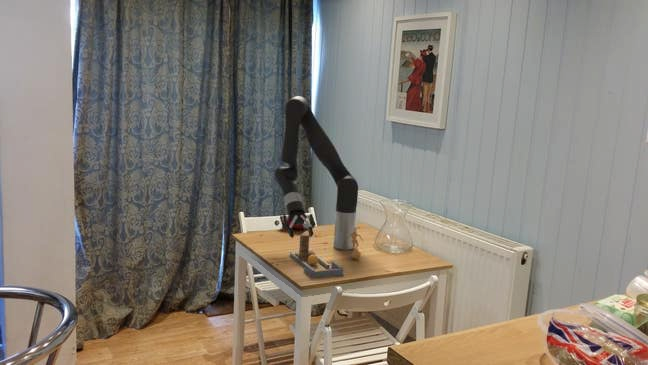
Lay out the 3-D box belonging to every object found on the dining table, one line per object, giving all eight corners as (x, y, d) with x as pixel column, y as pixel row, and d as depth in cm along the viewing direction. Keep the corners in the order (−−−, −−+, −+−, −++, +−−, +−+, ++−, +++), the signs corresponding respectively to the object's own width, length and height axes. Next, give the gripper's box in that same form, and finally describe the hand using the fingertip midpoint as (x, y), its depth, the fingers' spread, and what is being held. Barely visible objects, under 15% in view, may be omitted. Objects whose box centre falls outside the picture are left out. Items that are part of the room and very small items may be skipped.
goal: (333, 268, 232) (334, 261, 231) (342, 275, 224) (343, 268, 223) (304, 271, 226) (304, 263, 226) (312, 278, 219) (312, 270, 218)
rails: (310, 254, 249) (310, 250, 249) (329, 268, 231) (329, 264, 231) (289, 255, 245) (289, 252, 245) (307, 270, 227) (307, 266, 227)
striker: (307, 254, 247) (309, 233, 245) (314, 259, 240) (315, 237, 239) (294, 255, 245) (296, 233, 243) (301, 260, 238) (302, 238, 236)
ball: (315, 262, 237) (316, 252, 237) (319, 266, 233) (320, 255, 233) (305, 263, 236) (306, 253, 235) (310, 267, 232) (310, 256, 231)
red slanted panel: (310, 229, 293) (310, 215, 291) (301, 233, 283) (301, 219, 282) (288, 225, 298) (289, 211, 296) (278, 229, 288) (279, 215, 286)
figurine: (350, 261, 241) (352, 234, 239) (342, 257, 247) (344, 231, 244) (366, 259, 246) (368, 233, 244) (358, 255, 251) (360, 229, 249)
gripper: (281, 200, 247) (289, 233, 239) (311, 199, 253) (320, 231, 244) (276, 209, 252) (284, 241, 244) (306, 208, 258) (314, 240, 250)
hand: (302, 236), depth 244 cm, fingers open, 8 cm apart
